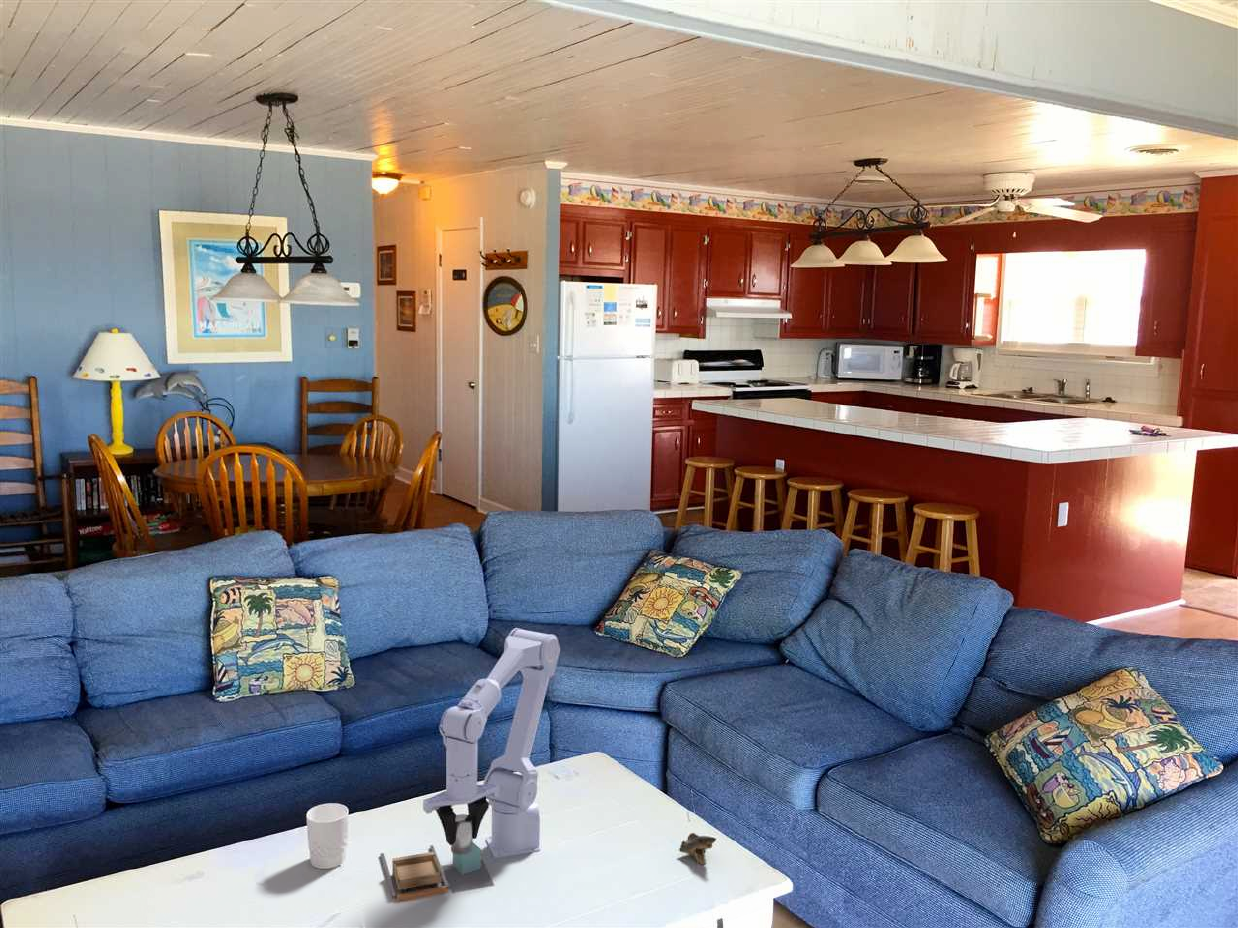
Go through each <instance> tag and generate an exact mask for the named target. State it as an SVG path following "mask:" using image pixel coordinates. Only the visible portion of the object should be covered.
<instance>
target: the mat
mask: <svg viewBox="0 0 1238 928" xmlns="http://www.w3.org/2000/svg"><path fill="white" fill-rule="evenodd" d="M441 867H442V870H443V872H444V875H445V877H446V880H447V882H448V885H449V889H450V891H451V893H452V894H455V893H458V892H459V893H460V892H465V891H470V890H476V889H481V888H482V889H483V888H487V887H493V886H495V884H494V881H493V880H492V878H491V875H490V873H489V871H488V868H487V866H486V865H485V863H484V859H482V858H481V869H478V870H475V871H472V872H469V873H466V874H463V875H462V874H461V873H460V872H459V871H458V870H457V869H456V868H455V867H454V866H453V863H451V864H444V865H441Z"/></svg>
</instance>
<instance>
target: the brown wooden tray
mask: <svg viewBox="0 0 1238 928" xmlns="http://www.w3.org/2000/svg"><path fill="white" fill-rule="evenodd" d="M435 852H436V851H435ZM435 852H431V851H429V852H424V853H418V854H413V855H412V854H410V855H405V856H400V857H392V858H391V859H392V865H391V866H392V867H391V868H392V878H395V882H396V885H397V888H398V889H397V890H400V891H401V893H406V889H409V888H410V889H411V888H416V887H423V886H427V885H433V888H435V887H439V884H440V883H443V881H442V872H441V870H440V867H439V865H438V862H437V859H436V857H435Z"/></svg>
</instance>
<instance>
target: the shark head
mask: <svg viewBox="0 0 1238 928" xmlns="http://www.w3.org/2000/svg"><path fill="white" fill-rule="evenodd" d="M716 840H717V838H715V837H711V836H706V835H701V836H700V835H698V834H697V833H695V832H691V833H690V834H689V835H688V837H687V839H686V840H682V841H681V844H680V846H679V849H678V851H679V852H681V853H684V854H687V855H690V856H692V857H694V858H695V860H697V862H698V863H699V864H701V865H706V864H707V863H708V862H707V859H706V855H705V853H704V852H706V850H708V849H712V848H713V843H714V844H715V842H716Z"/></svg>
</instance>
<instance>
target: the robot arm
mask: <svg viewBox="0 0 1238 928" xmlns="http://www.w3.org/2000/svg"><path fill="white" fill-rule="evenodd" d="M503 650H504V651H503V653H502V654H501V657H500V658H498V661H497V662H496V664H495V665H494V667H493V668H492V669H491V671H490V672H489V674H488V676H487V677H486V678H481V679H478V680H477V681H476V682H475V683H474V684H473V686H472V687H471V688H470V689H469V691H467V693H466V695H464V697H463V698H462V699H461V700H460V701H459V703H458V704H457V705H453V706H450V707H449V708H447V709H446V710H445V711H444V713H443V714H442V716H441V720H440V725H439V732H440V734H441V736H442V737H443V738H442V739H443V745H444V747H445V750H446V751H445V753H446V754H445V755H446V756H445V757H446V758H445V759H446V760H445V761H446V764H445V767H446V772H445V773H446V775H445V777H446V779H445V780H446V782H445V783H446V784H445V785H446V786H445V788H446V789H445V790H443V792H440V793H437V794H436V795H434V796H431V797H429V798H425V799H422V804H423V805H422V810H423V811H424V812H425V813H426V814H427V815H428V814H431V813H433V811H436V813H437V816H438V818H439V819H440V822H441V825H442V828H443V831H444V835H445V839H446V841H445V842H447V844H449V846H451V845H453V844H454V825H455V819H456V815H457V814H456V813H455V811H454V808H453V807H454V806H459V805H461V806H462V805H467V810H468V812H467V813H468V815H470V816H471V817H472V818H473V840H476V839H477V838H478V833H479V829H480V825H481V823H482V820H483V819H484V816H485V815H486V813H487V811H488V810H489V807H491V836H488V837H486V838H485V842H486V844H487V846H488V848H489V850H490V851H491V854H492V855H493V857H494V859H499V858H505V857H506V858H507V857H511V856H516V855H517V856H518V855H522V854H523V855H525V854H529V853H535V852H539V851H541V847H540V838H541V837H540V832H541V831H540V830H541V829H540V826H541V825H540V824H541V823H540V821H541V819H540V818H541V817H540V812H539V811H540V810H539V806H538V803H537V801H535V800H536V796H537V792H538V777H539V771H538V770H537V769H536V767H535V766H534V765H533V763H532V762H531V760H530V757H531V753H532V749H533V745H534V741H535V738H536V733H537V730H538V725H539V721H540V717H541V713H542V709H543V705H544V701H545V697H546V693H547V689H548V686H549V685H548V684H549V681H550V678H551V677H554V676H555V672H556V669H557V664H558V662H559V661H558V660H559V658H560V652H561V646H560V642H559V639H558V637H557V636H556V635H555V634H552V633H551V634H547V633H543V632H538V631H532V630H526V629H522V628H518V627H515V628H513V629H512V630H511V631H510V632H509V634H508V635H507V637H506V638H505V640H504V646H503ZM518 672H521V674H522V677H523V680H522V684H521V687H520V688H521V689H520V693H519V696H518V699H517V704H516V706H515V707H516V708H515V711H514V715H513V718H512V722H511V723H512V724H511V726H510V731H509V734H508V737H507V743H506V746H505V750H504V754H502V755H501V756H499V757H498V758H495V759H493V760H492V761H491V764H490V768H489V770H488V772H487V774H486V775H485V777H484V780H483V783H482V784H478V740H479V739H481V738H482V735H483V732H484V730H485V725H486V724H487V721H488V717H489V715H490V714H491V713H492V711H494V710H493V709H495V708H496V706H497V705H498V703H499V702H500V701H501V699H502V691H501V690H502V689H504V687H505V686H506V685H507V684H508V682H509V681H510V680H511V679H512V678H513V677H514V676H515V675H516V674H517V673H518ZM507 770H510V771H507ZM511 771H514V772H511ZM515 772H516V773H515ZM518 773H519V774H518ZM487 800H488V801H487Z"/></svg>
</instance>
